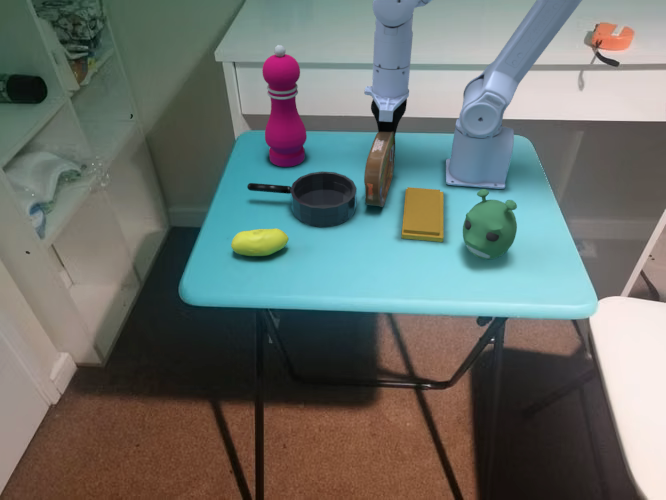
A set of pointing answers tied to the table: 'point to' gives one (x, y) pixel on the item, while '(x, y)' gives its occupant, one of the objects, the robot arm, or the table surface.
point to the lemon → (259, 242)
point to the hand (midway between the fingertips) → (386, 141)
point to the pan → (323, 199)
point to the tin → (379, 168)
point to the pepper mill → (283, 110)
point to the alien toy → (490, 227)
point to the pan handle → (269, 188)
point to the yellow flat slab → (423, 215)
